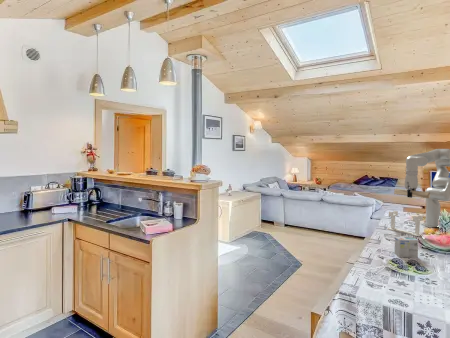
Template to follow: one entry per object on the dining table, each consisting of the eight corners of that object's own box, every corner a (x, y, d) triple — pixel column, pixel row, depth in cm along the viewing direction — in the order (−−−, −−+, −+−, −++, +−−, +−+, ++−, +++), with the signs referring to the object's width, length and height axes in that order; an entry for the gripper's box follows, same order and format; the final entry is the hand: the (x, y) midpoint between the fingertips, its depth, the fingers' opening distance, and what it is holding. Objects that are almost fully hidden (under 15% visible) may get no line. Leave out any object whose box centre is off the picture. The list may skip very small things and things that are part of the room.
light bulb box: (412, 253, 178) (412, 236, 177) (418, 257, 171) (419, 240, 170) (393, 253, 179) (394, 236, 178) (399, 257, 172) (399, 239, 172)
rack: (392, 228, 234) (392, 210, 233) (423, 235, 214) (424, 216, 213) (386, 229, 230) (387, 211, 229) (418, 237, 210) (418, 217, 209)
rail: (397, 193, 235) (397, 188, 235) (429, 197, 215) (430, 192, 214) (394, 194, 233) (394, 189, 233) (427, 198, 213) (427, 192, 212)
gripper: (412, 172, 230) (412, 195, 231) (400, 173, 222) (400, 197, 223) (422, 172, 223) (422, 196, 225) (410, 174, 215) (410, 198, 217)
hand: (411, 196), depth 224 cm, fingers closed on rail, 4 cm apart
